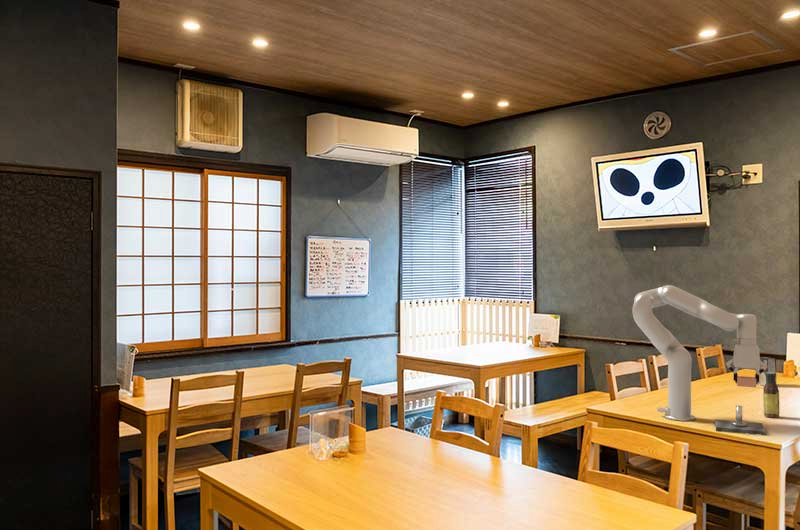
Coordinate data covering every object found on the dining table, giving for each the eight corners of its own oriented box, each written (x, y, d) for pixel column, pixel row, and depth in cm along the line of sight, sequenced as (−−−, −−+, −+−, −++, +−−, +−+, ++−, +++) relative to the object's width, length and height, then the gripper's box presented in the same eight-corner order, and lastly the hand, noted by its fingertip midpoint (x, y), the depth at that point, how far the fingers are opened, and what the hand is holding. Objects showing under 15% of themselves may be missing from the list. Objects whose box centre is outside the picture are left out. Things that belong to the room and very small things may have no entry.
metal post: (731, 426, 271) (731, 406, 271) (731, 423, 277) (730, 404, 277) (747, 427, 269) (747, 407, 269) (746, 424, 274) (746, 405, 274)
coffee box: (777, 386, 377) (777, 358, 377) (768, 387, 375) (768, 358, 375) (763, 383, 385) (763, 356, 386) (755, 384, 383) (755, 357, 384)
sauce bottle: (781, 418, 292) (781, 374, 292) (766, 418, 293) (766, 373, 294) (776, 415, 298) (776, 372, 299) (761, 415, 300) (761, 371, 300)
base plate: (716, 430, 269) (716, 427, 269) (714, 422, 284) (714, 419, 284) (765, 435, 262) (765, 431, 262) (761, 426, 276) (761, 423, 276)
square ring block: (737, 386, 283) (737, 378, 283) (736, 383, 290) (736, 375, 290) (756, 387, 280) (756, 379, 280) (754, 384, 287) (754, 376, 287)
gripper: (724, 342, 285) (724, 382, 285) (770, 344, 278) (770, 386, 278) (723, 340, 292) (723, 380, 292) (768, 342, 285) (768, 383, 285)
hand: (746, 382), depth 285 cm, fingers closed on square ring block, 7 cm apart
